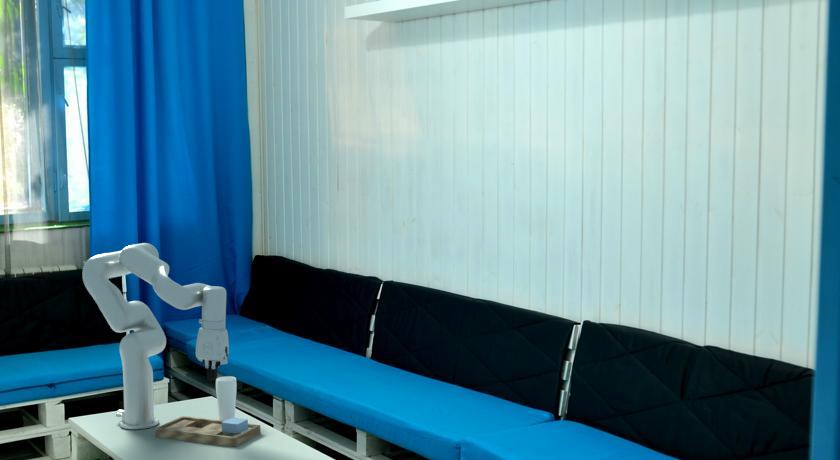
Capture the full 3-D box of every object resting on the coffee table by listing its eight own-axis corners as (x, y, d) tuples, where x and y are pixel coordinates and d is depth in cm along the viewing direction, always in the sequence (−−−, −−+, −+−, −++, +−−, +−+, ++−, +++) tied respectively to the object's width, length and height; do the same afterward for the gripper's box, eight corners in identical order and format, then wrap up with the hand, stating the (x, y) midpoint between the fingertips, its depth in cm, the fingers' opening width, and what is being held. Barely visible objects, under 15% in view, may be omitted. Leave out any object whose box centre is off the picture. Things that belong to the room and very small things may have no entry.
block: (221, 431, 299) (221, 422, 299) (232, 426, 305) (232, 417, 304) (237, 433, 297) (237, 424, 297) (247, 428, 302) (247, 419, 302)
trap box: (155, 436, 300) (155, 428, 300) (182, 424, 314) (182, 416, 314) (235, 447, 290) (235, 438, 290) (260, 433, 304) (260, 425, 303)
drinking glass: (232, 425, 313) (231, 381, 312) (213, 424, 314) (212, 380, 313) (240, 419, 320) (239, 376, 318) (221, 418, 321) (220, 375, 320)
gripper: (187, 323, 301) (185, 379, 303) (227, 329, 296) (225, 385, 297) (200, 320, 308) (199, 374, 310) (239, 325, 303) (237, 380, 304)
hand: (211, 379), depth 304 cm, fingers closed
